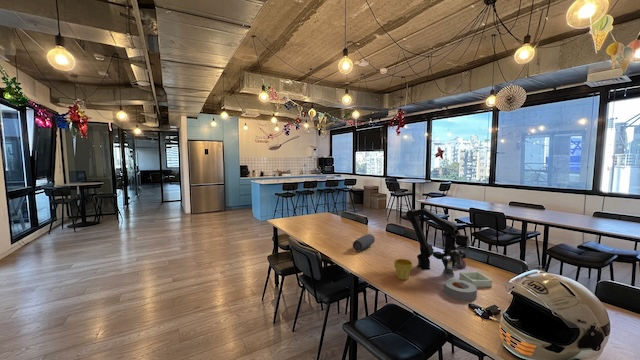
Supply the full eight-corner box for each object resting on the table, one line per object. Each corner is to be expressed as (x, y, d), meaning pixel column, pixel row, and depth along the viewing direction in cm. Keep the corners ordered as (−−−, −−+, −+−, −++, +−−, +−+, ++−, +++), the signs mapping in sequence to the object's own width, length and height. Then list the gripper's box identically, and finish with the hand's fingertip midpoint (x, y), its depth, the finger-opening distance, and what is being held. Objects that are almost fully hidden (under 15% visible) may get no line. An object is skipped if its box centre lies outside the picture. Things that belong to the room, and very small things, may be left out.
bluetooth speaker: (364, 244, 225) (365, 232, 224) (375, 246, 219) (375, 234, 218) (351, 251, 206) (351, 238, 205) (362, 254, 201) (362, 241, 200)
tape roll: (439, 294, 142) (439, 284, 142) (450, 284, 153) (450, 276, 152) (471, 305, 131) (471, 295, 131) (480, 294, 142) (480, 285, 141)
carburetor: (471, 266, 172) (460, 251, 174) (456, 275, 175) (445, 259, 176) (466, 260, 183) (455, 245, 185) (452, 268, 186) (441, 254, 187)
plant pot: (390, 275, 164) (390, 259, 163) (403, 272, 168) (404, 257, 167) (401, 282, 154) (402, 266, 154) (415, 279, 159) (416, 263, 158)
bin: (472, 288, 148) (473, 281, 148) (459, 278, 160) (459, 272, 160) (491, 287, 150) (492, 280, 149) (477, 278, 161) (477, 271, 161)
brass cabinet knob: (447, 273, 163) (447, 261, 162) (442, 270, 168) (443, 258, 167) (454, 273, 163) (455, 261, 163) (449, 269, 168) (450, 258, 168)
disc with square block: (446, 277, 162) (446, 274, 162) (440, 272, 168) (440, 269, 168) (456, 276, 163) (456, 273, 163) (450, 272, 169) (450, 269, 169)
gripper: (443, 248, 155) (441, 274, 156) (472, 247, 157) (471, 273, 158) (432, 242, 166) (431, 267, 167) (460, 241, 168) (459, 265, 169)
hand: (448, 268), depth 165 cm, fingers closed on brass cabinet knob, 4 cm apart
